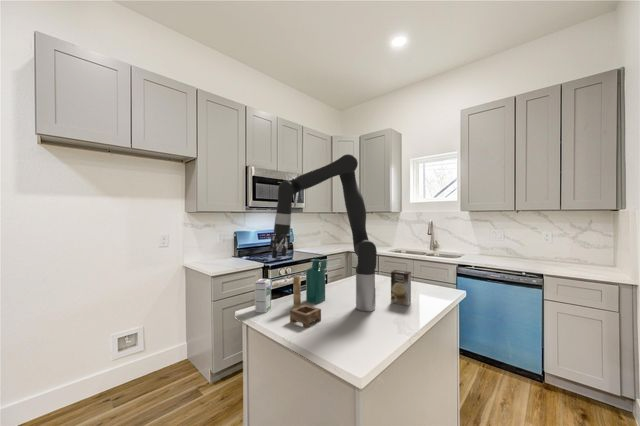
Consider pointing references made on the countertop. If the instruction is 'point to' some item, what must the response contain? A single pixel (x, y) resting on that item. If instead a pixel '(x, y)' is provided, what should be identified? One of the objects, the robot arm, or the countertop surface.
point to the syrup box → (262, 295)
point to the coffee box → (401, 287)
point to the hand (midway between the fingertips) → (279, 257)
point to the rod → (296, 291)
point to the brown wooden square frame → (305, 315)
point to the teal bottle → (316, 281)
